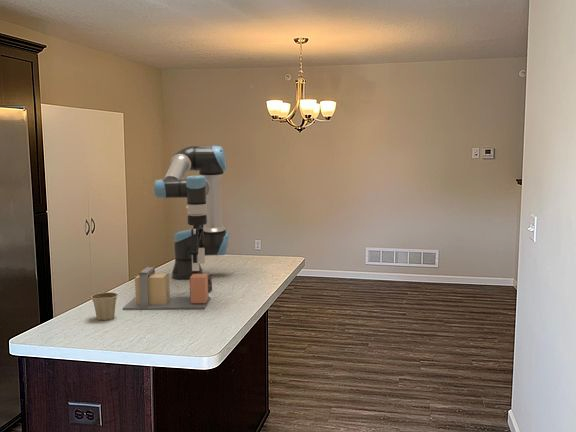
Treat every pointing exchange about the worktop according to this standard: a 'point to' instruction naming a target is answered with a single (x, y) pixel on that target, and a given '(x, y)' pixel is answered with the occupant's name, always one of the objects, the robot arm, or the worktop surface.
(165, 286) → the holder
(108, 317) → the flower pot
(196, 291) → the block
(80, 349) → the worktop surface
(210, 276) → the box
